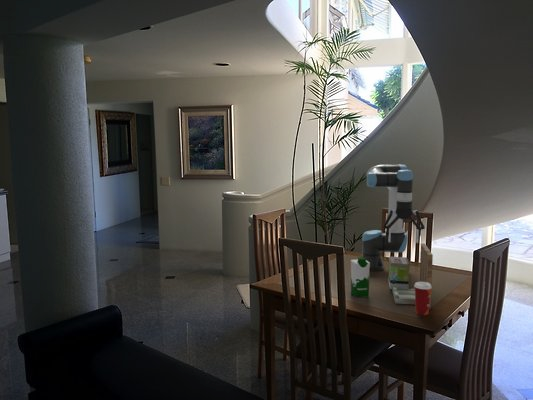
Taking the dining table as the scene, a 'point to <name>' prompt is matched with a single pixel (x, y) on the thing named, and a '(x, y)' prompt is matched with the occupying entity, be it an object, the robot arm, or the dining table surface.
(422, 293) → the paper cup
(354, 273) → the soya milk
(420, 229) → the robot arm
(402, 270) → the tea box
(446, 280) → the dining table surface
